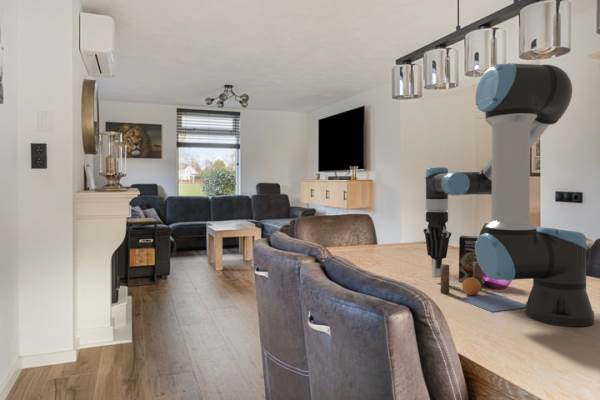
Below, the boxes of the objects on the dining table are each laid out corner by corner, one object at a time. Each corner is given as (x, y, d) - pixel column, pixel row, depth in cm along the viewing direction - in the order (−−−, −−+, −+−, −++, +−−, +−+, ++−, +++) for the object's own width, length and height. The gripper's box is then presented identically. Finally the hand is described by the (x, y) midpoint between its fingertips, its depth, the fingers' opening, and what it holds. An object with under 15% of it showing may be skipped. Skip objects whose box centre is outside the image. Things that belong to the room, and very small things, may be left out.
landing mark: (532, 307, 115) (532, 306, 115) (491, 312, 110) (491, 311, 110) (494, 294, 128) (494, 294, 128) (457, 298, 124) (457, 298, 124)
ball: (479, 297, 129) (487, 287, 125) (464, 299, 127) (473, 289, 123) (470, 283, 132) (478, 273, 129) (456, 284, 131) (463, 274, 127)
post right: (483, 290, 134) (483, 262, 133) (476, 290, 133) (476, 263, 132) (477, 288, 136) (477, 261, 136) (471, 288, 135) (471, 262, 135)
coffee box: (458, 281, 145) (458, 237, 145) (460, 278, 151) (460, 235, 150) (486, 284, 141) (486, 238, 140) (487, 280, 147) (487, 236, 146)
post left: (451, 293, 130) (451, 265, 129) (444, 294, 129) (444, 266, 129) (445, 291, 132) (445, 264, 132) (439, 292, 132) (439, 264, 131)
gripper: (458, 211, 139) (457, 280, 140) (434, 209, 151) (434, 272, 152) (439, 212, 137) (439, 281, 138) (417, 210, 149) (417, 274, 150)
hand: (436, 276), depth 145 cm, fingers closed
